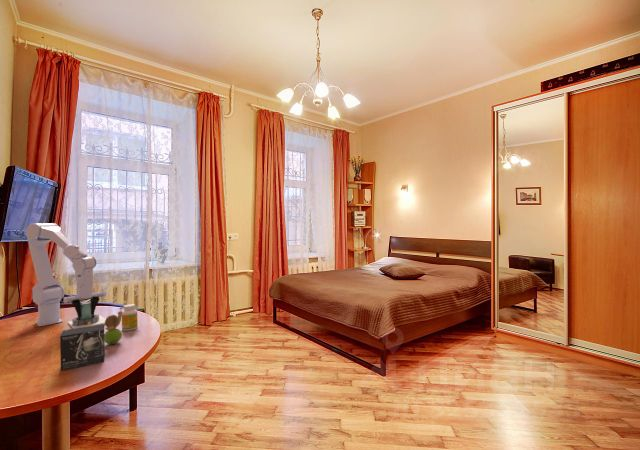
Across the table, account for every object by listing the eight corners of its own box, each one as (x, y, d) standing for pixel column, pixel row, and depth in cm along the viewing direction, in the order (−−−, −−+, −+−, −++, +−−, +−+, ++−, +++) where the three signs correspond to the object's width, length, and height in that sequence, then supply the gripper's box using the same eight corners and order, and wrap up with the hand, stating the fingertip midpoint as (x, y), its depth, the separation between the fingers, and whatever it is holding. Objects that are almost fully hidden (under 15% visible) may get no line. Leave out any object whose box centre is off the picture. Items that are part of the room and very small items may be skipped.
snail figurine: (128, 340, 113) (127, 308, 113) (111, 347, 107) (110, 313, 107) (117, 339, 115) (116, 307, 115) (99, 345, 109) (99, 311, 109)
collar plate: (67, 323, 135) (67, 317, 135) (100, 316, 144) (100, 310, 144) (75, 330, 125) (75, 324, 125) (110, 323, 134) (110, 316, 134)
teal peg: (81, 324, 130) (81, 305, 130) (79, 322, 134) (78, 303, 134) (93, 322, 133) (92, 303, 133) (90, 319, 137) (89, 301, 137)
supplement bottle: (130, 331, 123) (129, 307, 123) (118, 330, 124) (118, 306, 124) (140, 327, 129) (140, 303, 128) (129, 326, 130) (129, 303, 130)
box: (59, 371, 90) (59, 336, 90) (63, 363, 95) (62, 329, 95) (104, 362, 96) (103, 328, 96) (105, 355, 101) (104, 323, 101)
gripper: (65, 288, 126) (66, 322, 126) (107, 283, 136) (108, 313, 137) (62, 286, 130) (63, 318, 130) (103, 281, 141) (103, 310, 141)
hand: (85, 315), depth 134 cm, fingers closed on teal peg, 4 cm apart
